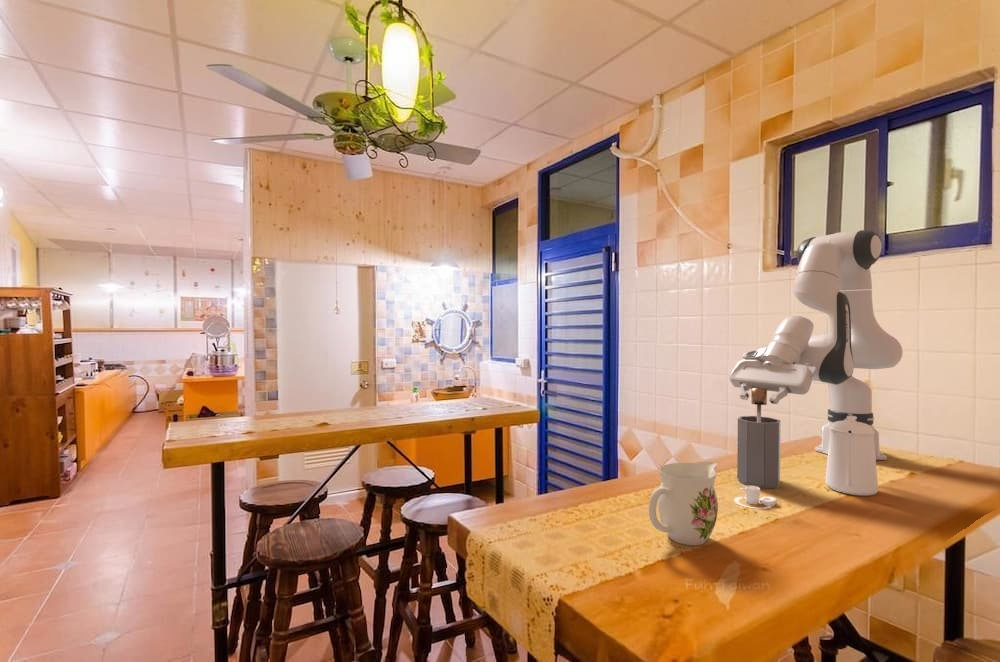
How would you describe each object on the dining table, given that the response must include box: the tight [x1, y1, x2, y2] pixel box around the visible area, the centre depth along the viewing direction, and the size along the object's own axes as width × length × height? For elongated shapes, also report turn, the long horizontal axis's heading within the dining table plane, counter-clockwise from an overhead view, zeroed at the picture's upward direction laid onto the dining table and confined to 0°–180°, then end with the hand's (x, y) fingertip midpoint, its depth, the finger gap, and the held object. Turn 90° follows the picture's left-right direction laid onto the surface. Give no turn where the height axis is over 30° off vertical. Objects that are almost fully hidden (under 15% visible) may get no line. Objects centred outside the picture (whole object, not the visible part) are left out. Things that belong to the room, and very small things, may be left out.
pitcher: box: [648, 461, 719, 546], centre depth 96 cm, size 11×18×14 cm, turn 119°
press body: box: [736, 415, 782, 490], centre depth 131 cm, size 13×10×17 cm
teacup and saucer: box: [733, 485, 778, 510], centre depth 115 cm, size 9×8×4 cm
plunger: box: [750, 388, 768, 422], centre depth 130 cm, size 7×7×24 cm
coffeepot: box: [824, 416, 879, 497], centre depth 124 cm, size 11×25×19 cm, turn 143°
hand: (757, 400), depth 129 cm, fingers open, 7 cm apart
